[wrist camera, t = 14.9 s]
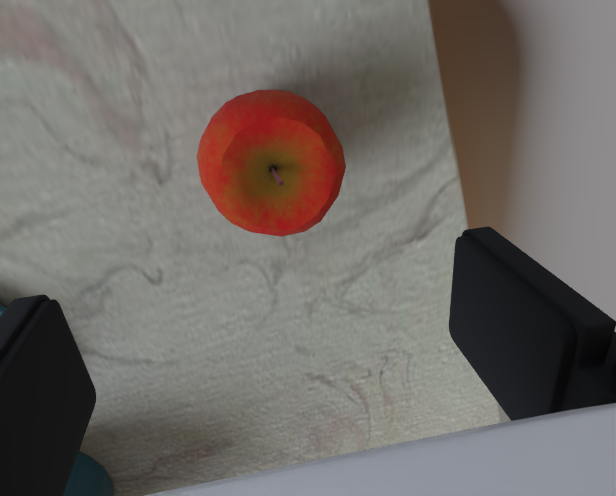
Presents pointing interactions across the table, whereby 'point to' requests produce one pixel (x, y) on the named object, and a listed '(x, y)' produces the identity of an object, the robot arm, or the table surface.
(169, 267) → the table surface
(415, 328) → the table surface
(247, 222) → the apple
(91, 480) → the pot
